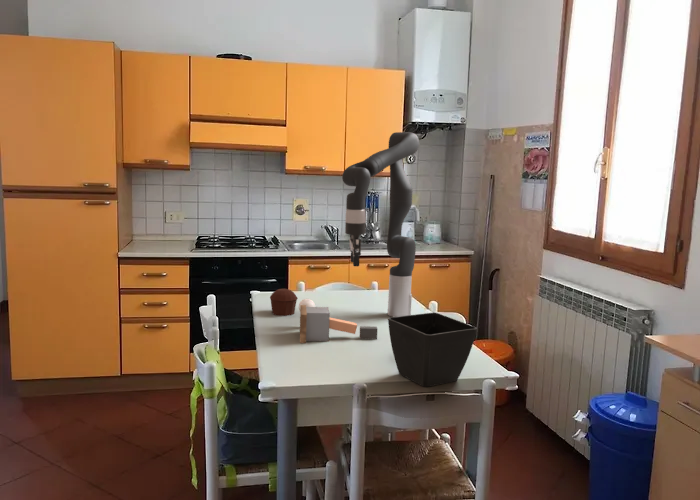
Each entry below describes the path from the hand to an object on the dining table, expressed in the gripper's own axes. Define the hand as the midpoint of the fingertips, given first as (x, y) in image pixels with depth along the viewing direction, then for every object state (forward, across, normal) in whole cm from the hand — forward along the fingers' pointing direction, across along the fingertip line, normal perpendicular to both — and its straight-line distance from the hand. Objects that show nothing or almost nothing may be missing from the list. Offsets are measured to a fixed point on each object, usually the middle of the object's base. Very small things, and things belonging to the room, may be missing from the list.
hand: (354, 264), depth 222 cm
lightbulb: (+24, -1, +18) cm, 30 cm away
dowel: (+20, -14, +9) cm, 27 cm away
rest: (+24, -15, -4) cm, 29 cm away
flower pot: (+24, -55, -16) cm, 62 cm away
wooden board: (+24, -14, +20) cm, 34 cm away
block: (+24, -14, +15) cm, 32 cm away
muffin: (+24, +20, +27) cm, 41 cm away
